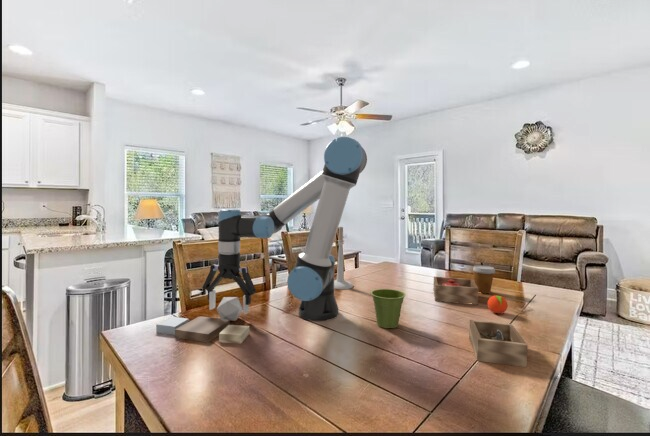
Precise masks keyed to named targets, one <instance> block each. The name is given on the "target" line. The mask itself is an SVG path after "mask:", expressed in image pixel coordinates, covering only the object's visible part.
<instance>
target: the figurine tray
mask: <svg viewBox="0 0 650 436" xmlns="http://www.w3.org/2000/svg"><path fill="white" fill-rule="evenodd" d="M468 329H469V330H468V331H469V332H468V340H469V342H470V345H471V347H472V350H473V353H474V356H475V359H476V361H478V362H485V363H491V364H500V365H506V366H507V365H508V366H514V367H523V368H527V362H528V361H527V360H528V344H527V343H526V341H525V340H524V339H523V337H522V336H521V335H520V332H518V331H517V328H515V326H514V325H513V324H512V323H503V322H493V321H486V320H485V321H484V320H474V319H469V327H468ZM497 330H500V331H501V332H502V335H503V338H504V340H503V341H500V340H491V339H486V338H485V337H484V336H482V335H481V334H480V332H479V331H481V332H482V333H483V334H484V335H486V331H488V333H489V336H491V334H492V332H493V337H496V336H497Z"/></svg>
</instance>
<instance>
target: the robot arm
mask: <svg viewBox="0 0 650 436" xmlns="http://www.w3.org/2000/svg"><path fill="white" fill-rule="evenodd" d="M366 152H367V151H365V149H364V148H363V147H362V144H360V143H359V141H357V140H356V139H355V138H351V137H349V136H338V137H336V138H334V139H332V140H331V141H330V142H329V143H328V144H327V146H326V147H325V149H324V153H323V161H324V162H323V163H324V166H323V169H322V171H320V172H318V173H317V174H316V175H315V176H314V177H312V178H311V179H310V180H308V182H306V183H305V184H304V185H302V186H301V187H299V188H298V189H297V190H296V191H294V192H293V193H292V194H290V195H289V196H288V197H287V198H286V199H284V200H283V201H282V202H280V203H279V204H277V206H275V207H274V208H273V209H271V210H270V211H269V212H267V213H266V214H261V215H242V213H241V212H242V211H241V210H240V209H236V208H234V209H233V208H224V209H220V210H219V211H218V221H217V224H218V241H217V242H218V243H217V247H218V248H217V252H218V254H217V255H218V256H217V257H218V258H217V260H218V261H217V263H218V264H217V263H214V264H211V265H210V268H209V269H210V270H209V272H208V274H207V276H206V279H205V281H204V283H203V286H202V290H206V292H207V300H208V301H209V302H208V303H209V304H208V305H209V307H208V309H209V311H212V310H214V309H216V302H217V301H216V291H217V290H216V289H215V288H216V287H217V286H218V284H219V283H220V282H221V280H223V279H225V280H226V279H228V280H233V281H234V282H236V284H237V286H238V287H239V288H240V290H241V291H242V292H243V294H244V295H243V297H242V308H243V310H242V315H243V316H244V315H246V314H248V313H249V311H250V310H249V307H250V305H251V302H252V296H253V295H254V294H257V290H256V288H255V285H254V282H253V281H252V277H251V276H250V274H249V267H248V266H245V267H244V266H243V267H241V266H240V265H241V253H240V252H241V238H243V237H244V238H257V239H259V240H260V239H270V238H272V236H273V235H274V234H276V233H278V232H280V231H281V230H282V229H283V227H284V226H286V225H287V224H288V223H290V222H291V221H292V220H293V219H295V218H296V217H297V216H299V215H300V214H301V213H303V212H304V211H305V210H307V209H308V208H310V206H312V205H313V204H315V203H316V202H317V201H318V203H317V206H316V210H315V211H314V212H315V213H314V216H313V219H312V223H311V226H310V229H309V233H308V235H307V240H306V243H305V247H304V250H303V251H301V252H298V255H297V258H296V262H295V264H294V268H293V269H292V270H291V271H290V272H289V274H288V277H287V280H286V281H287V282H286V283H287V287H288V290H289V292H290V294H291V295H292V296H293V297H294V298H296V299H298V300H299V301H300V303H299V306H298V317H300V318H302V319H304V320H308V321H313V322H325V321H330V320H334V319H335V318H337V317H338V316H339V306H338V303H337V299H336V296H335V289H334V280H335V265H336V261H335V256H334V255H332V254H331V252H332V249H333V245H334V243H335V239H336V236H337V233H338V231H339V227H340V223H341V220H342V216H343V213H344V210H345V206H346V204H347V199H348V198H349V197H348V196H349V193H350V191H351V189H352V188H354V187H356V186H357V183H358V180H359V177H360V174H361V173H363V171H364V170H365V168H366V167H367V164H368V163H367V162H368V156H367V153H366ZM217 271H218V272H219V273H218V274H217ZM216 274H217V275H216ZM215 276H216V278H214V277H215ZM213 279H214V280H213Z"/></svg>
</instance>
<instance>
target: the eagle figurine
mask: <svg viewBox="0 0 650 436" xmlns="http://www.w3.org/2000/svg"><path fill="white" fill-rule="evenodd" d="M479 332H480V334H481V335H482V336H484V337H485V338H486V339H491V340H500V341H503V340H504V338H503V335H502V332H501V331H500V330H497V336H496V337H493V332H492V334H491V336H489V333H488V331H486V335H484V334H483V333H482V332H481V331H479Z"/></svg>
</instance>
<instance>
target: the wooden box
mask: <svg viewBox="0 0 650 436" xmlns="http://www.w3.org/2000/svg"><path fill="white" fill-rule="evenodd" d="M450 279H452V280H454V283H457V284H459V285H460V286H448V285H442V284H444V283H449V281H448V280H450ZM433 291H434V292H433V297H435V298H434V301H435V302H440V301H444V302H443V303H451V302H458V303H457V304H462V303H472V304H471V305H473V304H478V305H479V293H478V291H479V288H478V287H477V285H476V284H475V280H474V279H473V278H459V277H446V276H443V277H442V276H433Z"/></svg>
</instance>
